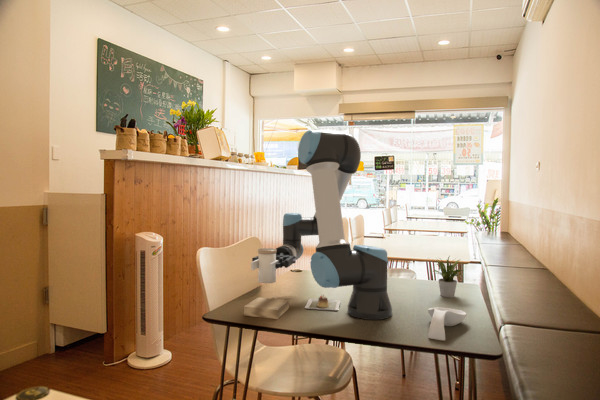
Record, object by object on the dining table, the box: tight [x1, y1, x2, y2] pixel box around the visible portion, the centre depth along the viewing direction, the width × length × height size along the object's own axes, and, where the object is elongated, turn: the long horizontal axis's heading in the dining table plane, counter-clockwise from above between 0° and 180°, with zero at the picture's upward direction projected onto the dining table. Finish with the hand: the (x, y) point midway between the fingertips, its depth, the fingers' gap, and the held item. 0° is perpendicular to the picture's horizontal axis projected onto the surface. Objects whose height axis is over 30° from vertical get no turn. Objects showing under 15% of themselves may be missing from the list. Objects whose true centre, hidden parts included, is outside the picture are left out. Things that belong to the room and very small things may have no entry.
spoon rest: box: [427, 307, 467, 341], centre depth 126 cm, size 24×12×7 cm, turn 152°
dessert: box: [304, 294, 341, 312], centre depth 148 cm, size 12×12×5 cm
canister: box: [257, 247, 277, 284], centre depth 140 cm, size 6×6×11 cm
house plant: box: [427, 255, 464, 298], centre depth 163 cm, size 14×14×16 cm
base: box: [243, 297, 290, 320], centre depth 140 cm, size 12×12×3 cm
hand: (261, 266), depth 135 cm, fingers closed on canister, 6 cm apart
